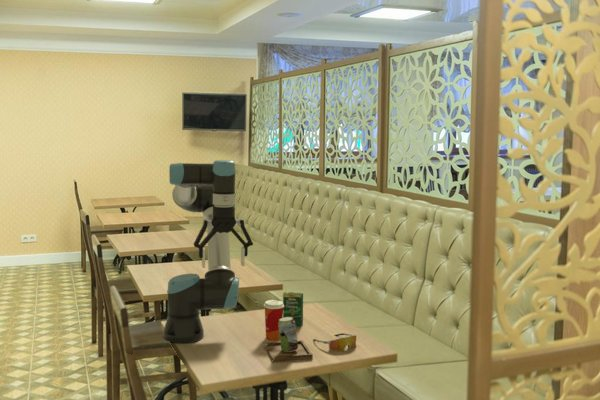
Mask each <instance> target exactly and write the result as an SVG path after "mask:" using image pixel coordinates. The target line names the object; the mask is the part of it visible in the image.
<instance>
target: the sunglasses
mask: <svg viewBox="0 0 600 400" xmlns="http://www.w3.org/2000/svg"><path fill="white" fill-rule="evenodd" d="M333 336H334V337H335V336H336V337H339V336H345V337H339V338H335V339H330V340H319V339H316V338H314V339H313V342H317V343H322V344H325V345H328V350H329V351H345V349H346V347H347V348H348V349H352V348H353V347H355V346H356V345H357V334H351V333H346V332H343V333H337V334H334V335H333Z"/></svg>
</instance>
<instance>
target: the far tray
mask: <svg viewBox="0 0 600 400" xmlns="http://www.w3.org/2000/svg"><path fill="white" fill-rule="evenodd" d="M297 342H298V348H297V349H296V350H295V351H293V352H284V351H282V350H281V343H280V341H276V342H275V341H272V342H267V343H266V344H265V345H264V347H265V350H266V352H267V353H268V355H269V357H270V359H271V360H272V363H280V362H281V363H283V362H295V361H305V360H306V361H311V360H313V353H312V352H311V350H310V349H309V347H308V346H307V345H306V343H305V342H304V341H303V339H302V340H301V339H300V340H297Z"/></svg>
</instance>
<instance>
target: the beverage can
mask: <svg viewBox="0 0 600 400" xmlns="http://www.w3.org/2000/svg"><path fill="white" fill-rule="evenodd" d="M278 327H279V335H280V341H279V342H280V343H281V350H282V351H284V352H293V351H295V350H296V349H297V348H298V342H297V341H298V337H297V329H296V328H297V326H295V321H294V320H293V318H292V317H284V318H281V319H279V322H278Z"/></svg>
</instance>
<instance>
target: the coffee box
mask: <svg viewBox="0 0 600 400" xmlns="http://www.w3.org/2000/svg"><path fill="white" fill-rule="evenodd" d="M282 302H283V304H284V307H283V318H284V317H292V318H293V320H294V321H295V326H296V327H302V326H303V325H304V293H303V292H294V291H293V292H292V291H291V292H290V291H284V292H283V293H282Z"/></svg>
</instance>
